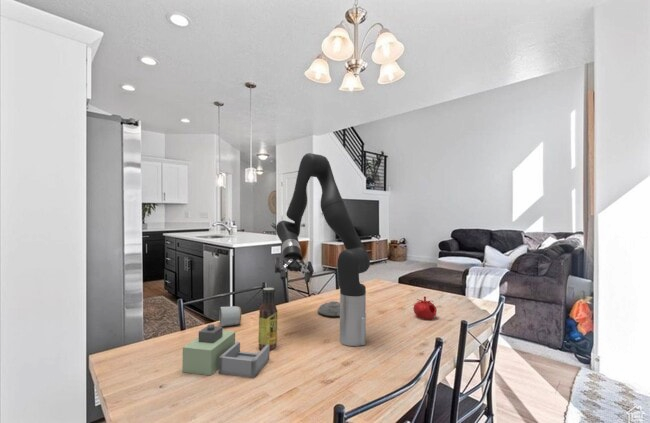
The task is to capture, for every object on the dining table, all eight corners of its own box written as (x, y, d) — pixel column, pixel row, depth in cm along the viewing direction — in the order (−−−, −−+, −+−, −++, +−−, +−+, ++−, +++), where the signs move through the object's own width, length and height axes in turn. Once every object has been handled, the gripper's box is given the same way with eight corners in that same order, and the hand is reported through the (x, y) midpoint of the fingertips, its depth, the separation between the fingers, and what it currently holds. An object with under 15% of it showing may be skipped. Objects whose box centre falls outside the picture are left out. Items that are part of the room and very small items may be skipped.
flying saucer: (350, 309, 148) (350, 297, 148) (349, 319, 133) (349, 307, 133) (319, 307, 149) (319, 296, 150) (315, 318, 134) (315, 305, 135)
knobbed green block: (271, 357, 97) (271, 321, 97) (252, 380, 83) (252, 339, 83) (210, 350, 101) (210, 316, 101) (182, 371, 87) (183, 332, 87)
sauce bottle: (272, 351, 100) (273, 291, 101) (255, 350, 102) (255, 290, 102) (279, 343, 107) (280, 287, 107) (263, 342, 108) (263, 286, 108)
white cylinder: (242, 326, 123) (242, 307, 123) (220, 329, 120) (221, 309, 120) (237, 318, 133) (237, 301, 133) (217, 321, 129) (217, 303, 129)
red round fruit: (412, 320, 133) (411, 298, 133) (414, 312, 143) (414, 293, 143) (436, 322, 130) (435, 300, 130) (437, 315, 139) (436, 294, 139)
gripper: (276, 242, 117) (278, 270, 103) (311, 247, 121) (317, 274, 108) (272, 257, 120) (273, 286, 107) (306, 261, 125) (312, 290, 111)
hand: (295, 280), depth 107 cm, fingers open, 8 cm apart
